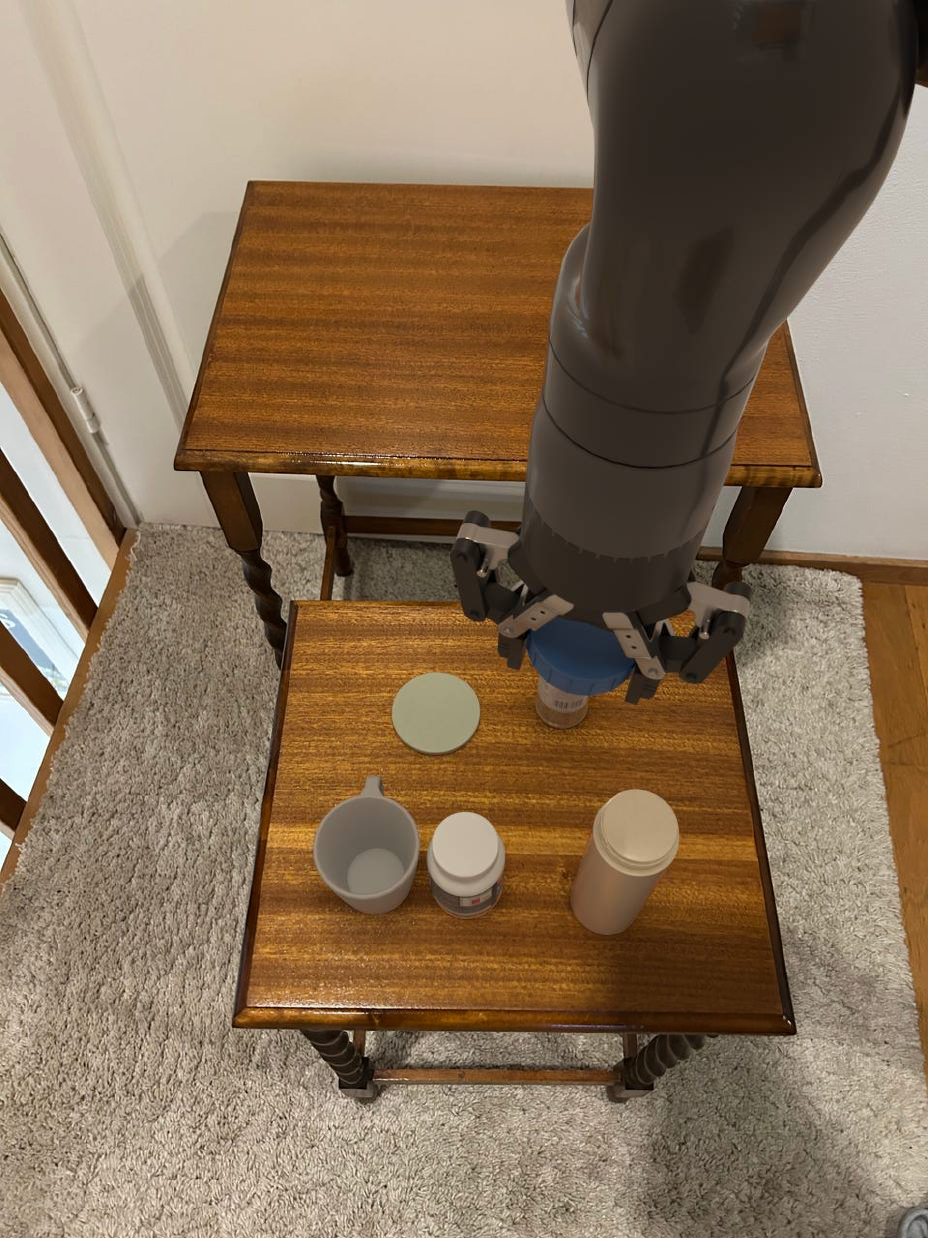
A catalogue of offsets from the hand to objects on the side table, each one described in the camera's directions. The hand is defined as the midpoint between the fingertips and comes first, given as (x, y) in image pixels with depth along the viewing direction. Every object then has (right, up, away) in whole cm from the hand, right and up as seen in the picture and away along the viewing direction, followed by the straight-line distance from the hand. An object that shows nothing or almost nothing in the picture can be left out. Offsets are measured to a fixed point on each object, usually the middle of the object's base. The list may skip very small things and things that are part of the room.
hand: (576, 671), depth 51 cm
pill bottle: (-6, -18, +22) cm, 29 cm away
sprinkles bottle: (+2, -5, +30) cm, 31 cm away
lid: (0, +2, -3) cm, 3 cm away
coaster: (-8, -5, +30) cm, 31 cm away
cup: (-13, -17, +23) cm, 31 cm away
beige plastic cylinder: (+5, -19, +21) cm, 29 cm away
